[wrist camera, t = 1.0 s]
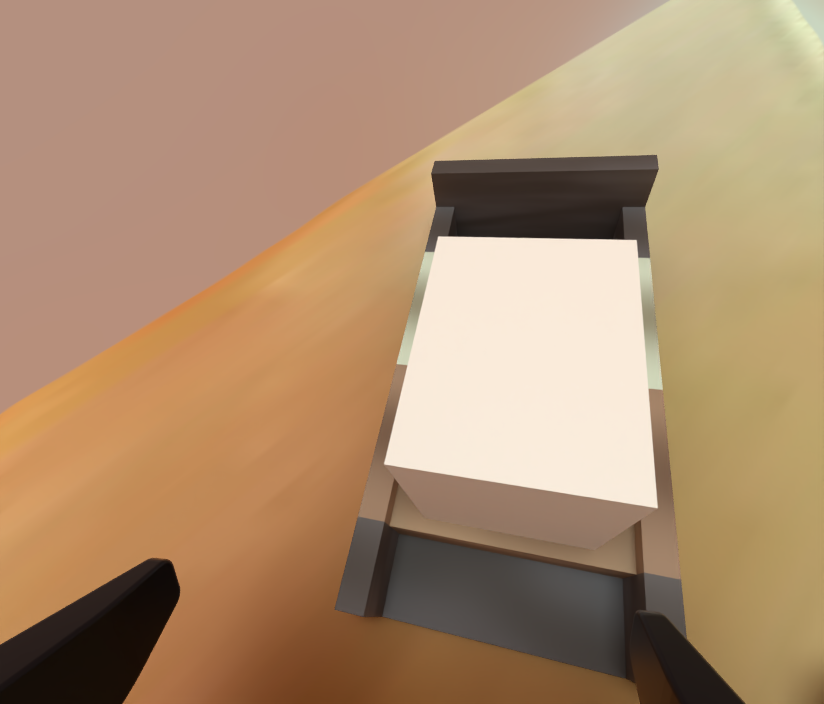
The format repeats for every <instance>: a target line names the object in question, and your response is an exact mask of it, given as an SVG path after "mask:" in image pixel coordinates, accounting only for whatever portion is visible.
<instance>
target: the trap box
mask: <svg viewBox="0 0 824 704" xmlns="http://www.w3.org/2000/svg"><path fill="white" fill-rule="evenodd" d="M658 170H659V168H658V160H657V155H642V156H605V157H568V158H531V159H495V160H458V161H435V162H434V166H433V169H432V173H431V175H432V182H433V188H434V195H435V201H436V210H435V214H434V218H433V222H432V226H431V230H430V234H429V238H428V242H427V246H426V250H425V254H424V258H423V262H422V266H421V270H420V274H419V277H418V281H417V285H416V289H415V293H414V297H413V301H412V305H411V309H410V313H409V317H408V321H407V325H406V329H405V333H404V337H403V341H402V345H401V349H400V353H399V357H398V360H397V364H396V368H395V372H394V376H393V380H392V384H391V388H390V392H389V396H388V400H387V404H386V408H385V412H384V416H383V420H382V424H381V428H380V432H379V436H378V440H377V444H376V447H375V451H374V455H373V459H372V463H371V467H370V471H369V475H368V479H367V483H366V487H365V491H364V495H363V499H362V503H361V507H360V511H359V515H358V519H357V523H356V527H355V530H354V534H353V538H352V542H351V546H350V550H349V554H348V558H347V562H346V566H345V570H344V574H343V578H342V582H341V586H340V590H339V594H338V598H337V602H336V606H335V610H338V611H342V612H346V613H350V614H354V615H358V616H362V617H386V618H390V619H394V620H398V621H402V622H406V623H410V624H414V625H417V626H421V627H425V628H429V629H433V630H437V631H441V632H445V633H449V634H453V635H457V636H461V637H465V638H468V639H472V640H476V641H480V642H484V643H488V644H492V645H496V646H500V647H504V648H508V649H512V650H516V651H520V652H523V653H527V654H531V655H535V656H539V657H543V658H547V659H551V660H555V661H559V662H563V663H567V664H571V665H575V666H578V667H582V668H586V669H590V670H594V671H598V672H602V673H606V674H610V675H614V676H618V677H622V678H626V679H628V680H630V681H632V682H634V683H636V681H635V677H634V672H633V667H632V662H631V657H630V638H631V632H632V626H633V620H634V615H635V613H636V611H638V610H645V611H654V612H660V613H662V614H664V615H665V616H666V617H667V618H668V619H669V620H670V621H671V622H672V623H673V625H674V626H675V627H676V628H677V629H678V630H679V631H680V632H681V633H682V634H683V636H684V637H685V638H686V639H687V637H686V626H685V616H684V606H683V595H682V585H681V574H680V564H679V554H678V543H677V533H676V523H675V512H674V502H673V492H672V481H671V471H670V461H669V450H668V440H667V429H666V419H665V409H664V398H663V388H662V378H661V367H660V357H659V347H658V336H657V326H656V316H655V305H654V295H653V285H652V274H651V264H650V253H649V243H648V233H647V222H646V212H645V206H646V203H647V200H648V197H649V195H650V192H651V189H652V186H653V183H654V181H655V178H656V175H657V172H658ZM438 236H440V237H495V238H550V239H605V240H637V250H638V263H639V275H640V288H641V301H642V314H643V326H644V339H645V352H646V365H647V378H648V390H649V403H650V416H651V429H652V441H653V454H654V467H655V480H656V492H657V505H658V508H657V509H656V510H654V511H653V512H651V513H650V514H648V515H647V516H645V517H644V518H642V519H641V520H639V521H638V522H636V523H635V524H633V525H632V526H630V527H629V528H627V529H626V530H624V531H623V532H621V533H620V534H618V535H617V536H615V537H614V538H612V539H611V540H609V541H608V542H606V543H605V544H603V545H602V546H600V547H599V548H597V549H596V550H592V549H586V548H581V547H576V546H570V545H565V544H560V543H554V542H549V541H544V540H539V539H533V538H528V537H523V536H517V535H512V534H507V533H501V532H496V531H491V530H485V529H480V528H475V527H470V526H464V525H459V524H454V523H448V522H443V521H438V520H432V519H427V518H424V516H423V515H422V514H421V512H420V511H419V510H418V508H417V507H416V506H415V504H414V503H413V502H412V501H411V499H410V498H409V497H408V495H407V494H406V493H405V491H404V490H403V489H402V487H401V486H400V485H399V483H398V482H397V481H396V480H395V478H394V477H393V476H392V474H391V473H390V472H389V470H388V469H387V468H386V466H385V465H384V462H385V458H386V454H387V450H388V445H389V441H390V437H391V433H392V429H393V424H394V420H395V416H396V412H397V408H398V403H399V399H400V395H401V391H402V387H403V382H404V378H405V374H406V370H407V366H408V361H409V357H410V353H411V349H412V345H413V340H414V336H415V332H416V328H417V324H418V319H419V315H420V311H421V307H422V303H423V298H424V294H425V290H426V286H427V282H428V277H429V273H430V269H431V265H432V261H433V256H434V252H435V248H436V244H437V240H438Z"/></svg>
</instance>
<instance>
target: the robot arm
mask: <svg viewBox="0 0 824 704" xmlns="http://www.w3.org/2000/svg"><path fill="white" fill-rule="evenodd" d="M179 596H180V586H179V583H178V579H177V576H176V573H175V569H174V566H173V564H172V562H171V561H170V560H168V559H160V558H151V559H148V560H146V561H144V562H142V563H141V564H139V565H137V566H136V567H134V568H132V569H130V570H129V571H127V572H125V573H123V574H122V575H120V576H118V577H116V578H115V579H113V580H111V581H110V582H108V583H106V584H104V585H103V586H101V587H99V588H97V589H96V590H94V591H92V592H91V593H89V594H87V595H85V596H84V597H82V598H80V599H78V600H77V601H75V602H73V603H72V604H70V605H68V606H66V607H65V608H63V609H61V610H59V611H58V612H56V613H54V614H53V615H51V616H49V617H47V618H46V619H44V620H42V621H40V622H39V623H37V624H35V625H33V626H32V627H30V628H28V629H27V630H25V631H23V632H21V633H20V634H18V635H16V636H14V637H13V638H11V639H9V640H8V641H6V642H4V643H2V644H1V645H0V704H123V702H124V700H125V699H126V697H127V696H128V694H129V692H130V691H131V689H132V687H133V686H134V684H135V682H136V680H137V678H138V677H139V675H140V673H141V671H142V669H143V667H144V666H145V664H146V662H147V660H148V658H149V656H150V654H151V652H152V650H153V648H154V646H155V644H156V643H157V641H158V639H159V637H160V635H161V633H162V631H163V629H164V627H165V625H166V623H167V621H168V620H169V618H170V616H171V614H172V612H173V610H174V608H175V606H176V604H177V602H178V599H179ZM630 657H631V662H632V667H633V672H634V677H635V681H636V686H637V691H638V695H639V700H640V704H745V702H744V701H743V700H742V699H741V698H740V697H739V696H738V695H737V694H736V693H735V692H734V690H733V689H732V688H731V687H730V686H729V685H728V684H727V683H726V682H725V681H724V679H723V678H722V677H721V676H720V675H719V674H718V673H717V672H716V671H715V670H714V668H713V667H712V666H711V665H710V664H709V663H708V662H707V661H706V660H705V659H704V657H703V656H702V655H701V654H700V653H699V652H698V651H697V650H696V649H695V648H694V646H693V645H692V644H691V643H690V642H689V641H688V640H687V639H686V638H685V637H684V636H683V634H682V633H681V632H680V631H679V630H678V629H677V628H676V627H675V626H674V625H673V623H672V622H671V621H670V620H669V619H668V618H667V617H666V616H665V615H664V614H662V613H660V612H654V611H645V610H638V611H636V613H635V615H634V620H633V626H632V632H631V638H630Z"/></svg>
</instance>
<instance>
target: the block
mask: <svg viewBox="0 0 824 704" xmlns="http://www.w3.org/2000/svg"><path fill="white" fill-rule="evenodd" d="M384 465H385V466H386V468H387V469H388V470H389V472H390V473H391V474H392V476H393V477H394V478H395V480H396V481H397V482H398V483H399V485H400V486H401V487H402V489H403V490H404V491H405V493H406V494H407V495H408V497H409V498H410V499H411V501H412V502H413V503H414V504H415V506H416V507H417V508H418V510H419V511H420V512H421V514H422V515H423V516H424V518H427V519H432V520H438V521H443V522H448V523H454V524H459V525H464V526H470V527H475V528H480V529H485V530H491V531H496V532H501V533H507V534H512V535H517V536H523V537H528V538H533V539H539V540H544V541H549V542H554V543H560V544H565V545H570V546H576V547H581V548H586V549H592V550H596V549H597V548H599V547H600V546H602V545H603V544H605V543H606V542H608V541H609V540H611V539H612V538H614V537H615V536H617V535H618V534H620V533H621V532H623V531H624V530H626V529H627V528H629V527H630V526H632V525H633V524H635V523H636V522H638V521H639V520H641V519H642V518H644V517H645V516H647V515H648V514H650V513H651V512H653V511H654V510H656V509H657V508H658V505H657V492H656V480H655V467H654V454H653V441H652V429H651V416H650V403H649V390H648V378H647V365H646V352H645V339H644V326H643V314H642V301H641V288H640V275H639V263H638V250H637V240H605V239H550V238H495V237H440V236H438V240H437V244H436V248H435V252H434V256H433V261H432V265H431V269H430V273H429V277H428V282H427V286H426V290H425V294H424V298H423V303H422V307H421V311H420V315H419V319H418V324H417V328H416V332H415V336H414V340H413V345H412V349H411V353H410V357H409V361H408V366H407V370H406V374H405V378H404V382H403V387H402V391H401V395H400V399H399V403H398V408H397V412H396V416H395V420H394V424H393V429H392V433H391V437H390V441H389V445H388V450H387V454H386V458H385V462H384Z"/></svg>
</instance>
